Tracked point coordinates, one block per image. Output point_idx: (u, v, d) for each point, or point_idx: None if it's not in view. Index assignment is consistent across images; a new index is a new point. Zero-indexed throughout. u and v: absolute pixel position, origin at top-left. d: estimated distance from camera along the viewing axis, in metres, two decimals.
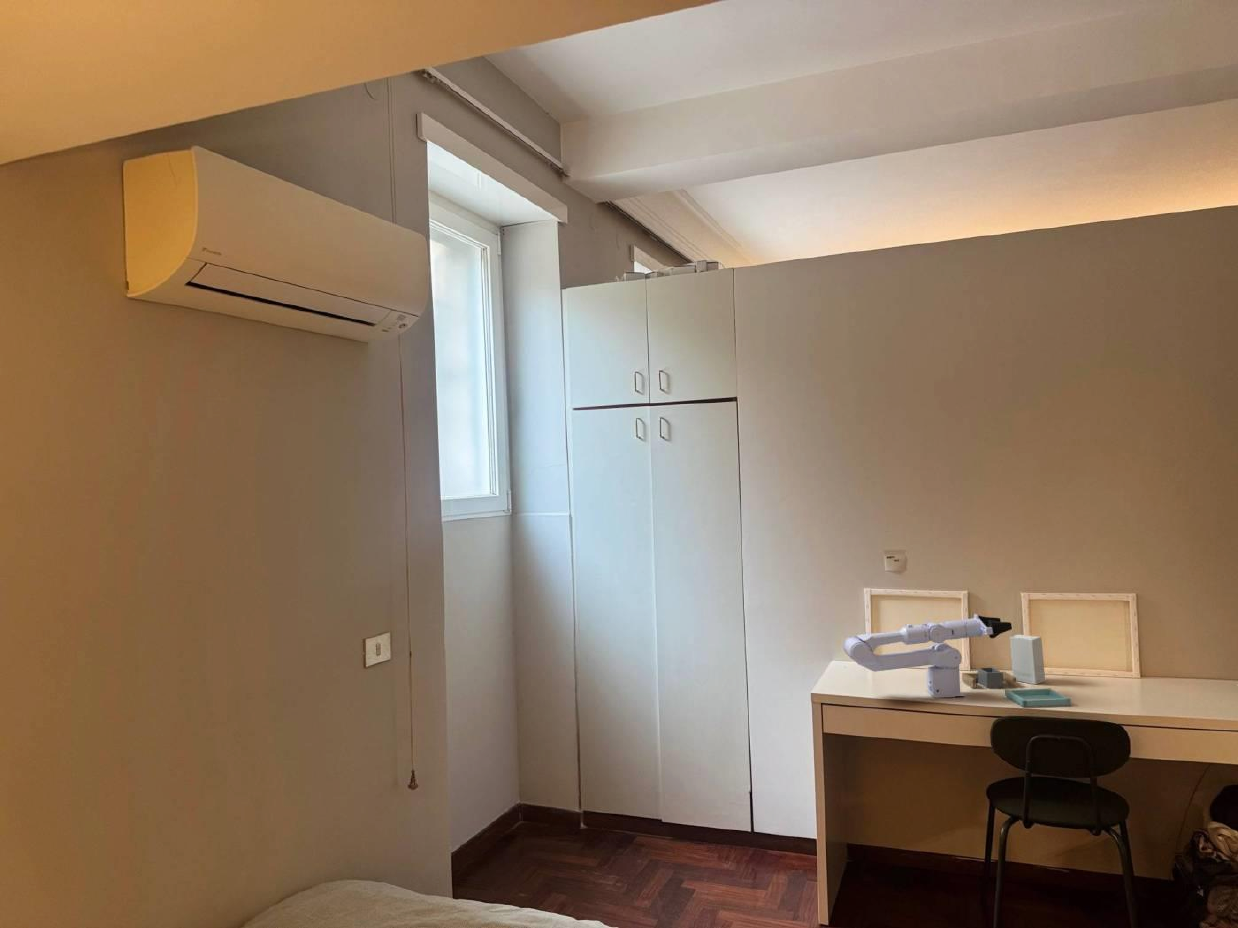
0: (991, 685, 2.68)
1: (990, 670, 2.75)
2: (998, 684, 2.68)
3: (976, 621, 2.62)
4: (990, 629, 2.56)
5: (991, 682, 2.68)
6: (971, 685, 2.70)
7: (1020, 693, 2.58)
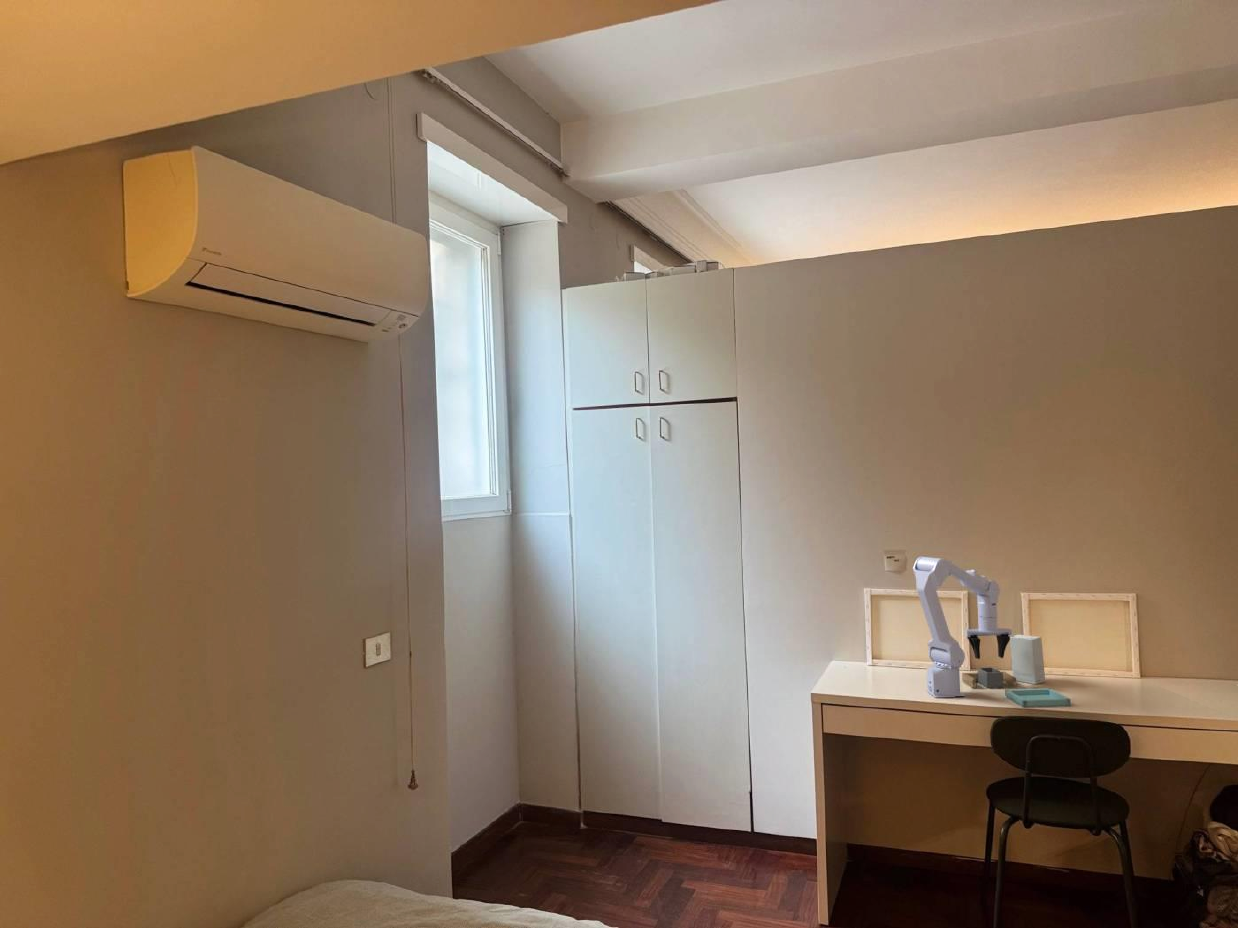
0: (991, 685, 2.68)
1: (990, 670, 2.75)
2: (998, 684, 2.68)
3: None
4: None
5: (991, 682, 2.68)
6: (971, 685, 2.70)
7: (1020, 693, 2.58)
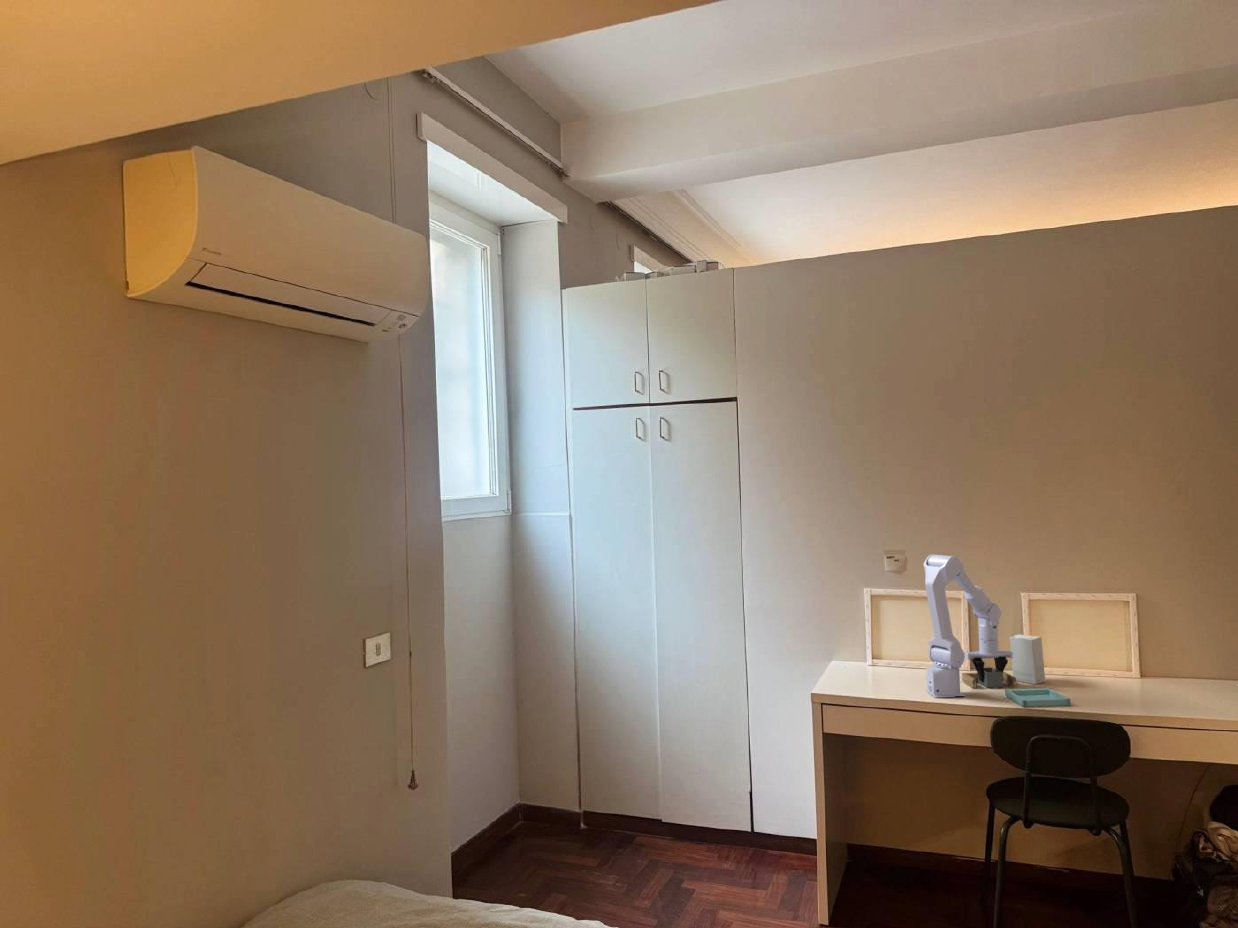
0: (991, 685, 2.68)
1: (990, 670, 2.75)
2: (998, 684, 2.68)
3: None
4: None
5: (991, 682, 2.68)
6: (971, 685, 2.70)
7: (1020, 693, 2.58)
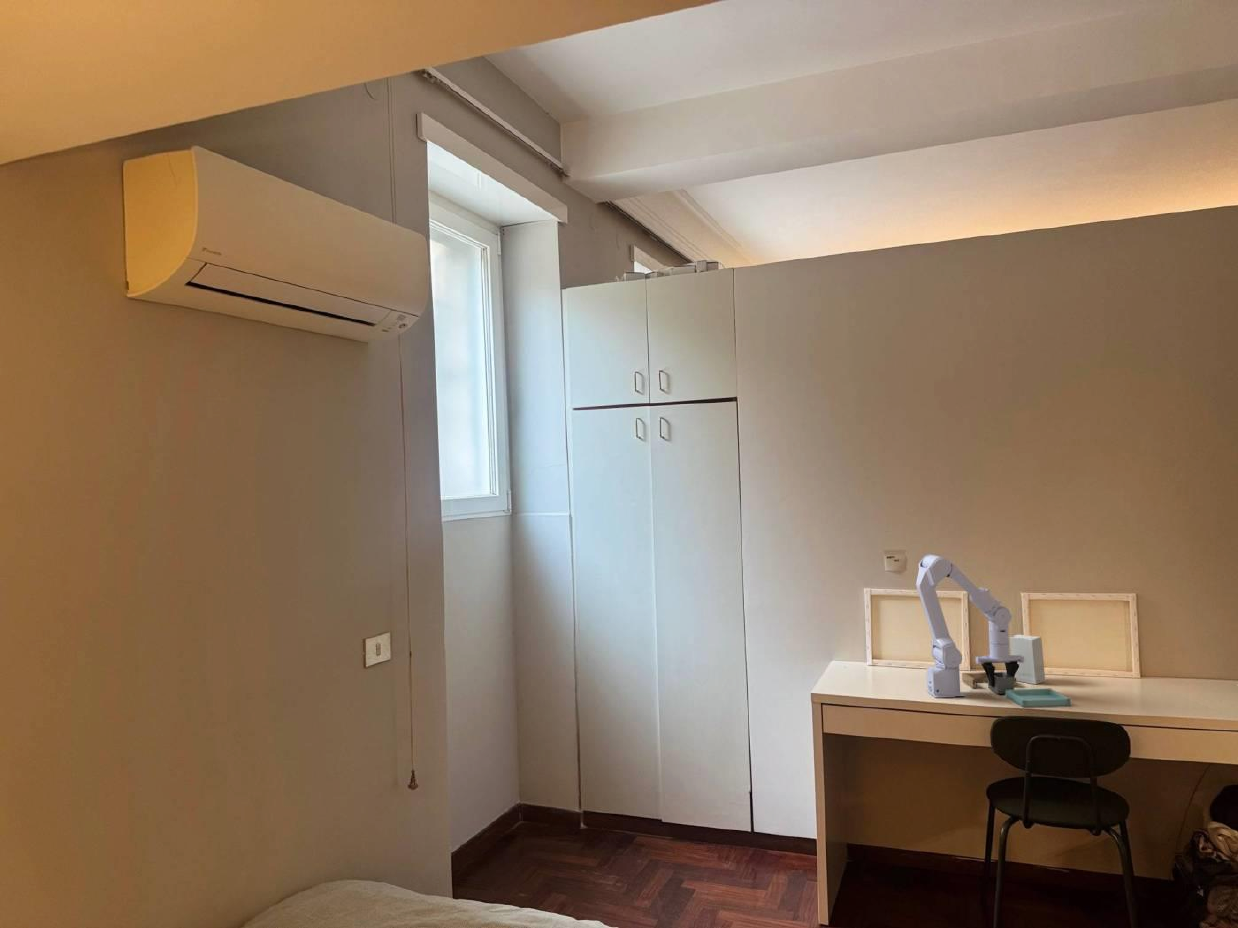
0: (1002, 690, 2.60)
1: (1001, 675, 2.67)
2: (1009, 689, 2.60)
3: None
4: None
5: (1002, 688, 2.60)
6: (971, 685, 2.70)
7: (1020, 693, 2.58)
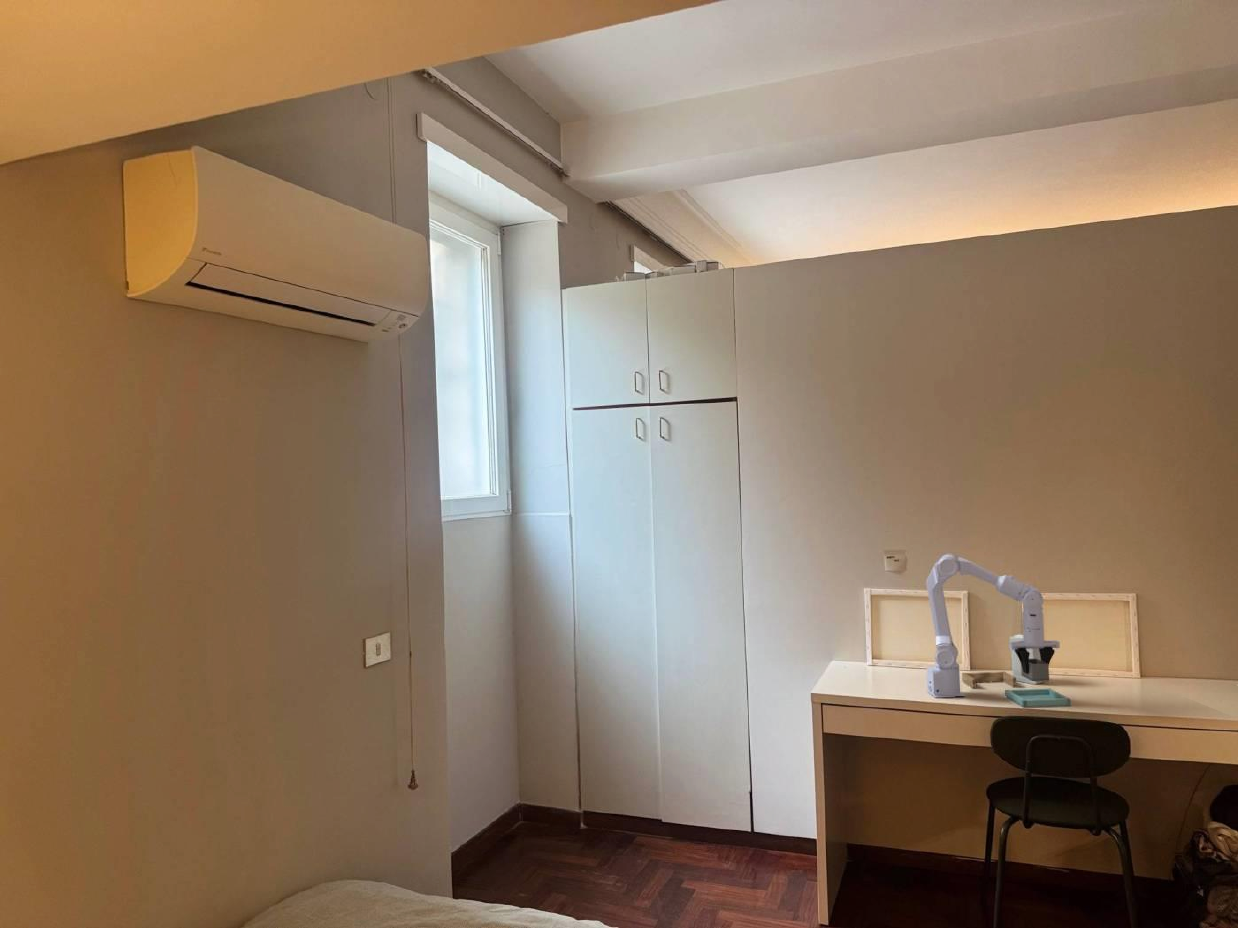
0: (1037, 677, 2.50)
1: (1034, 661, 2.56)
2: (1044, 676, 2.50)
3: None
4: None
5: (1036, 675, 2.50)
6: (971, 685, 2.70)
7: (1020, 693, 2.58)
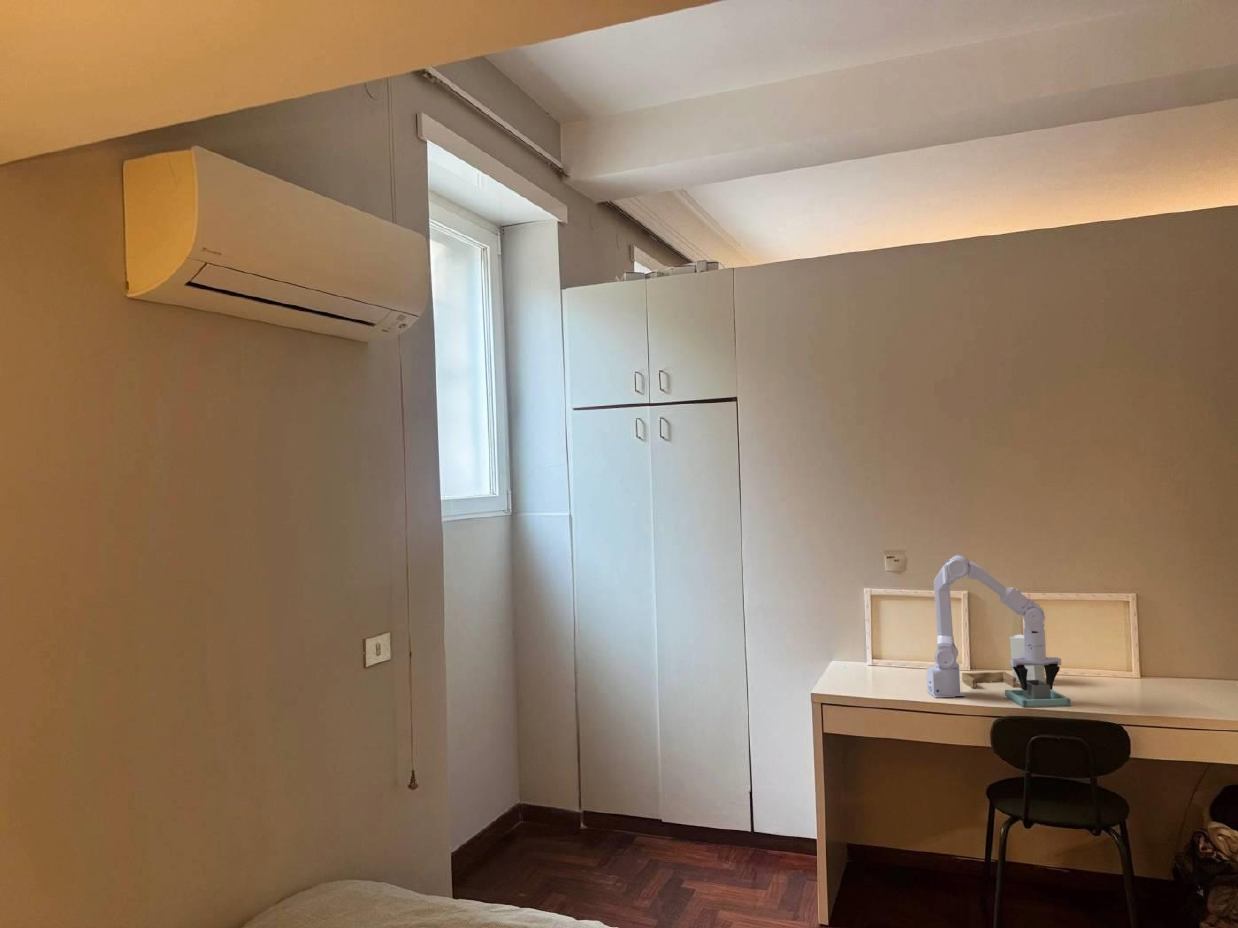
0: None
1: (1036, 683, 2.56)
2: (1046, 698, 2.49)
3: None
4: None
5: (1038, 696, 2.49)
6: (971, 685, 2.70)
7: (1020, 693, 2.58)
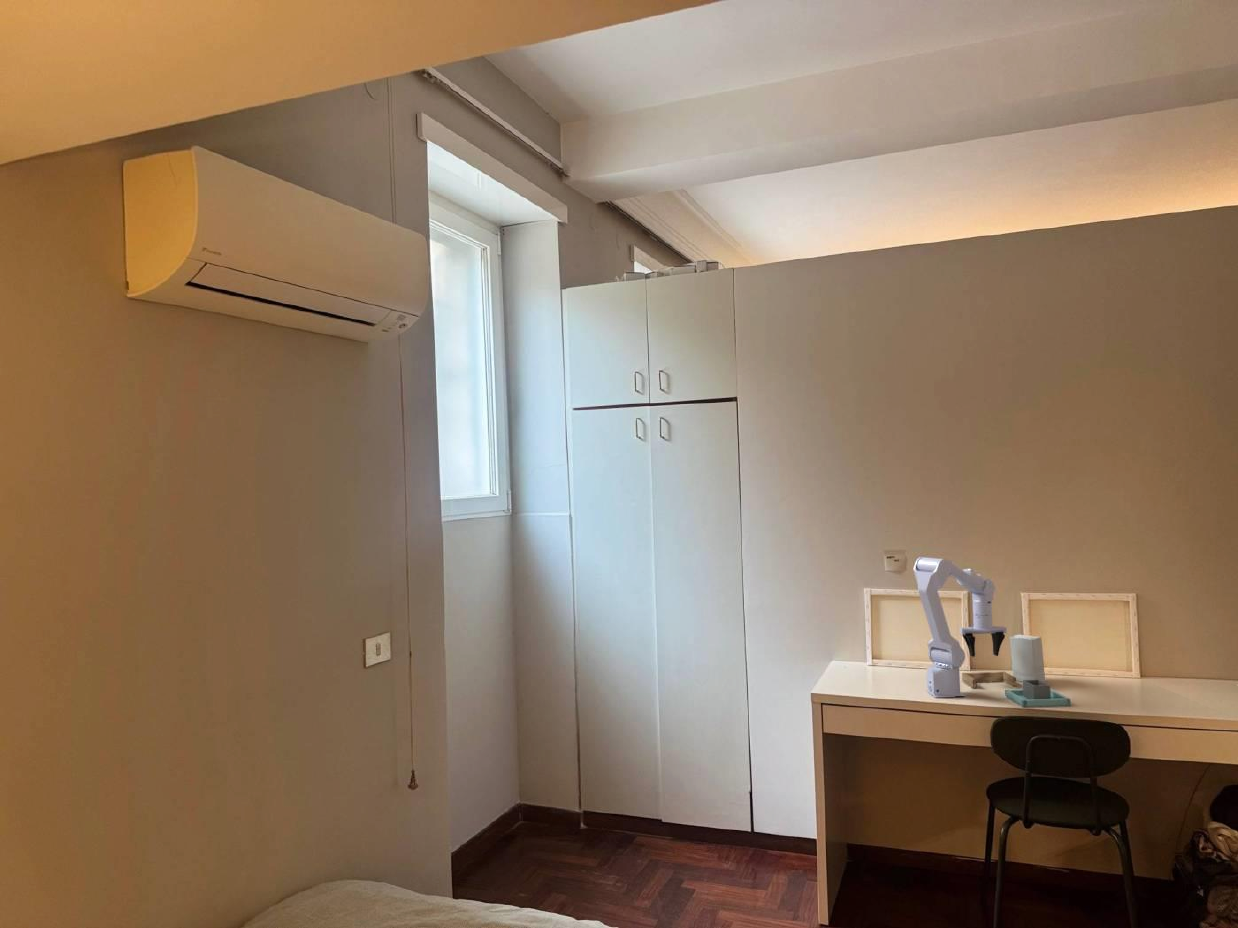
0: None
1: (1036, 683, 2.56)
2: (1046, 698, 2.49)
3: None
4: None
5: (1038, 696, 2.49)
6: (971, 685, 2.70)
7: (1020, 693, 2.58)
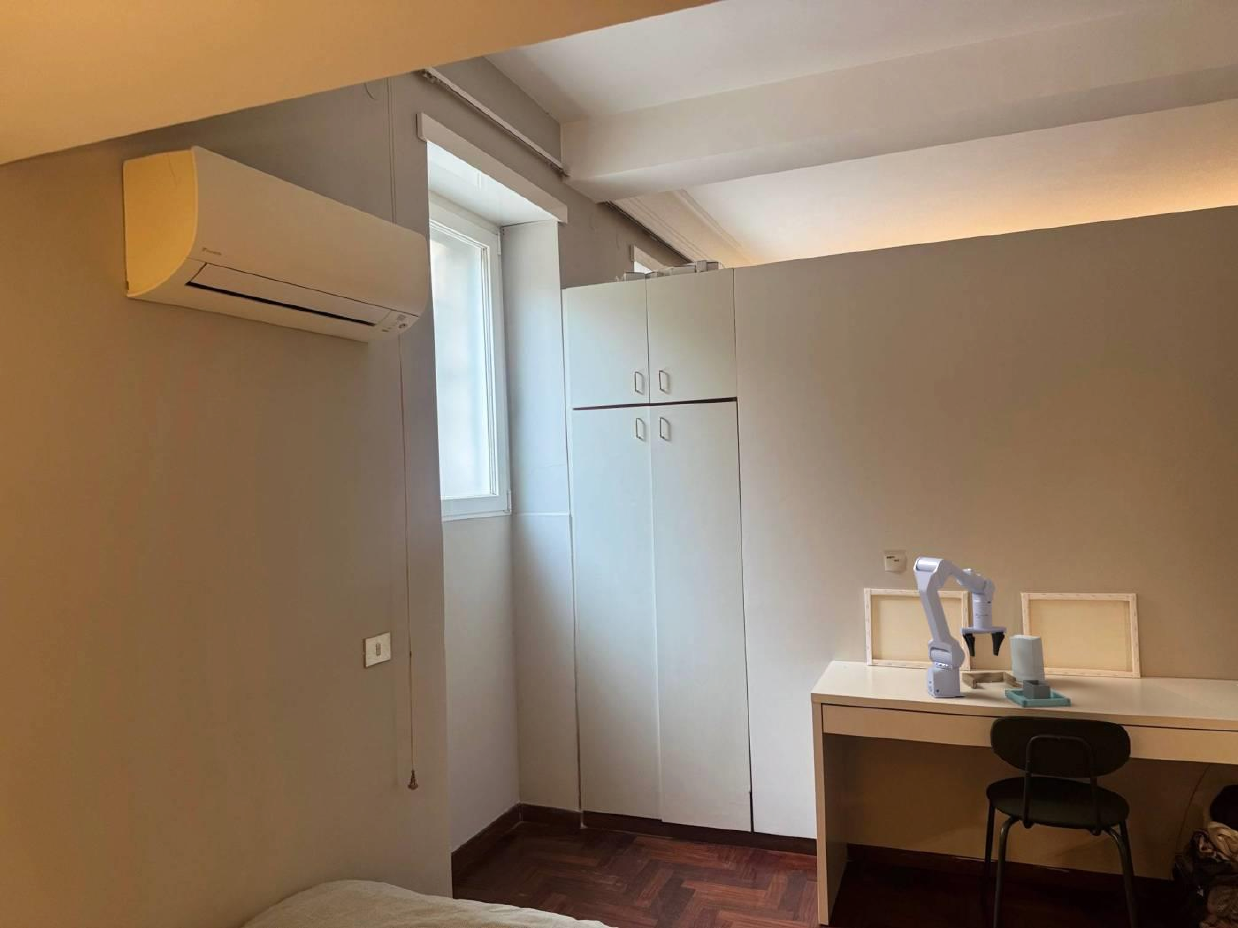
0: None
1: (1036, 683, 2.56)
2: (1046, 698, 2.49)
3: None
4: None
5: (1038, 696, 2.49)
6: (971, 685, 2.70)
7: (1020, 693, 2.58)
